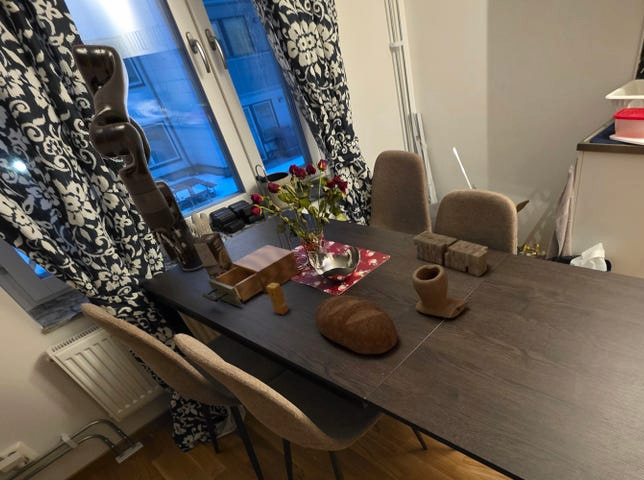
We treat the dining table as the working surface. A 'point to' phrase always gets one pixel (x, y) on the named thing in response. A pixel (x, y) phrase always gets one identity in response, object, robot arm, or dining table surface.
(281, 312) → the supplement box
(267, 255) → the cabinet
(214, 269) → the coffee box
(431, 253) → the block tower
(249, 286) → the drawer
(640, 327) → the dining table surface
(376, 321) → the bread
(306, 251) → the snack carton
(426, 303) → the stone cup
